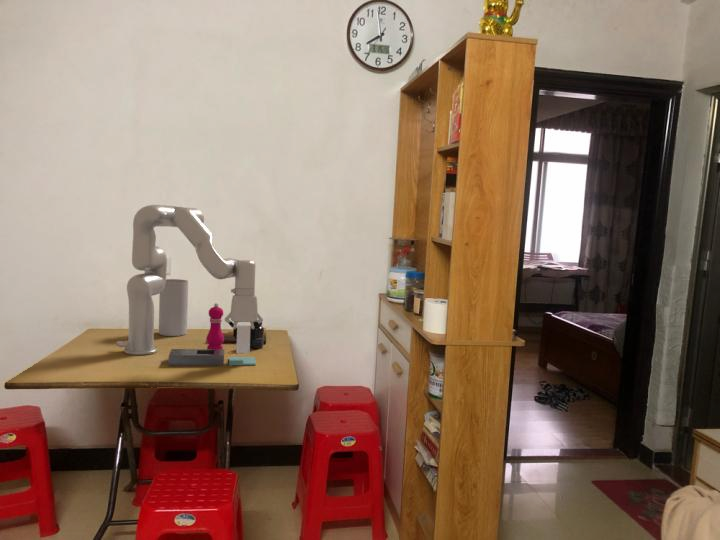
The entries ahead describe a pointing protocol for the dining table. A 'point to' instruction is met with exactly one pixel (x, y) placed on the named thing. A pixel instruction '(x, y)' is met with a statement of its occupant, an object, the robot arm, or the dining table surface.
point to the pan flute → (230, 339)
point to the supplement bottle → (257, 337)
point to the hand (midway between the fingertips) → (243, 338)
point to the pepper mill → (215, 328)
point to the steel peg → (243, 339)
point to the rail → (196, 357)
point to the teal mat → (241, 361)
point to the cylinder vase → (173, 308)
